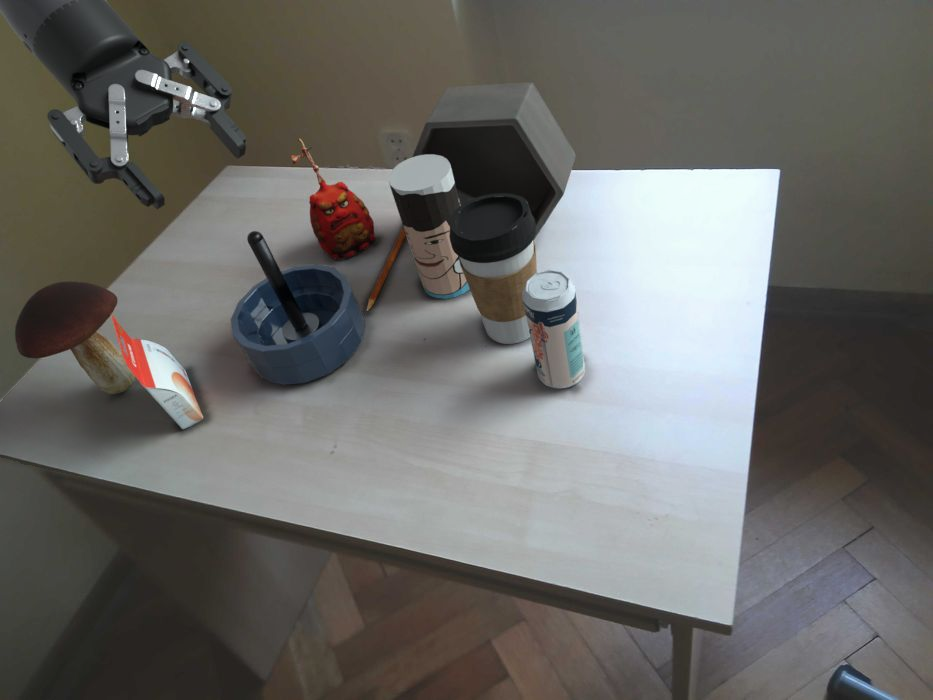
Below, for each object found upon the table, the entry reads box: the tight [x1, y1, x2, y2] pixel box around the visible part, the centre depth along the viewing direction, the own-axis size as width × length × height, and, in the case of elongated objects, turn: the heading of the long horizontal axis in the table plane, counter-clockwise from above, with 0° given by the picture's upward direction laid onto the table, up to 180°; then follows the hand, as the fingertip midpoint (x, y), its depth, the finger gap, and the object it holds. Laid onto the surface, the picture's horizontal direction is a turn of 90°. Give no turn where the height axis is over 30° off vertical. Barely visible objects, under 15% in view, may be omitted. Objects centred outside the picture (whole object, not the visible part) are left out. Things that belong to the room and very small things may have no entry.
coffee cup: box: [449, 193, 538, 345], centre depth 72 cm, size 8×8×15 cm
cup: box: [387, 154, 470, 300], centre depth 80 cm, size 7×7×15 cm
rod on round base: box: [246, 230, 323, 343], centre depth 77 cm, size 4×4×15 cm
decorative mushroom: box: [14, 280, 136, 395], centre depth 78 cm, size 11×11×15 cm
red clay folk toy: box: [290, 138, 376, 261], centre depth 89 cm, size 8×7×15 cm
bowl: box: [230, 263, 367, 385], centre depth 80 cm, size 14×14×6 cm
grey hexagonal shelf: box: [412, 81, 577, 242], centre depth 83 cm, size 17×8×21 cm
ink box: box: [110, 313, 204, 430], centre depth 76 cm, size 3×9×12 cm, turn 29°
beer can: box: [522, 269, 586, 389], centre depth 67 cm, size 5×5×12 cm
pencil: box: [366, 226, 406, 312], centre depth 89 cm, size 1×18×1 cm, turn 166°
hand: (203, 177), depth 61 cm, fingers open, 8 cm apart
